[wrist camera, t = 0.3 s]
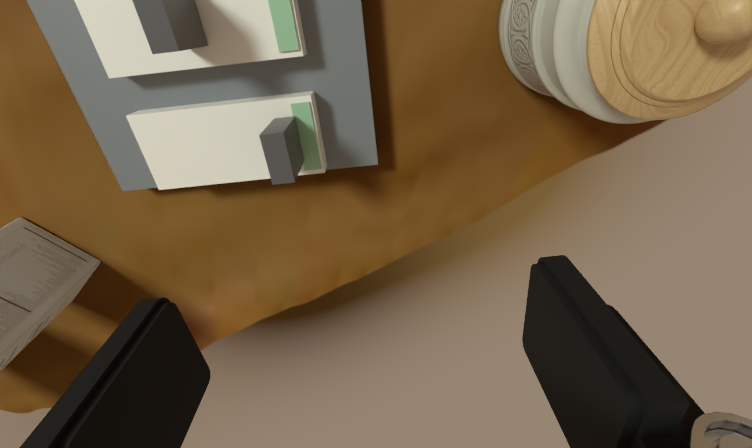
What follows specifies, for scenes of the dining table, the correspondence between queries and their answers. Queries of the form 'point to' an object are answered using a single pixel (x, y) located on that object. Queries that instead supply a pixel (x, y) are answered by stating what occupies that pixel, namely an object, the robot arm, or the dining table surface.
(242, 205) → the dining table surface
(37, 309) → the supplement box
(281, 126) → the breaker handle
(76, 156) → the dining table surface
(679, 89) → the jar
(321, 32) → the breaker panel
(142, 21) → the breaker handle
